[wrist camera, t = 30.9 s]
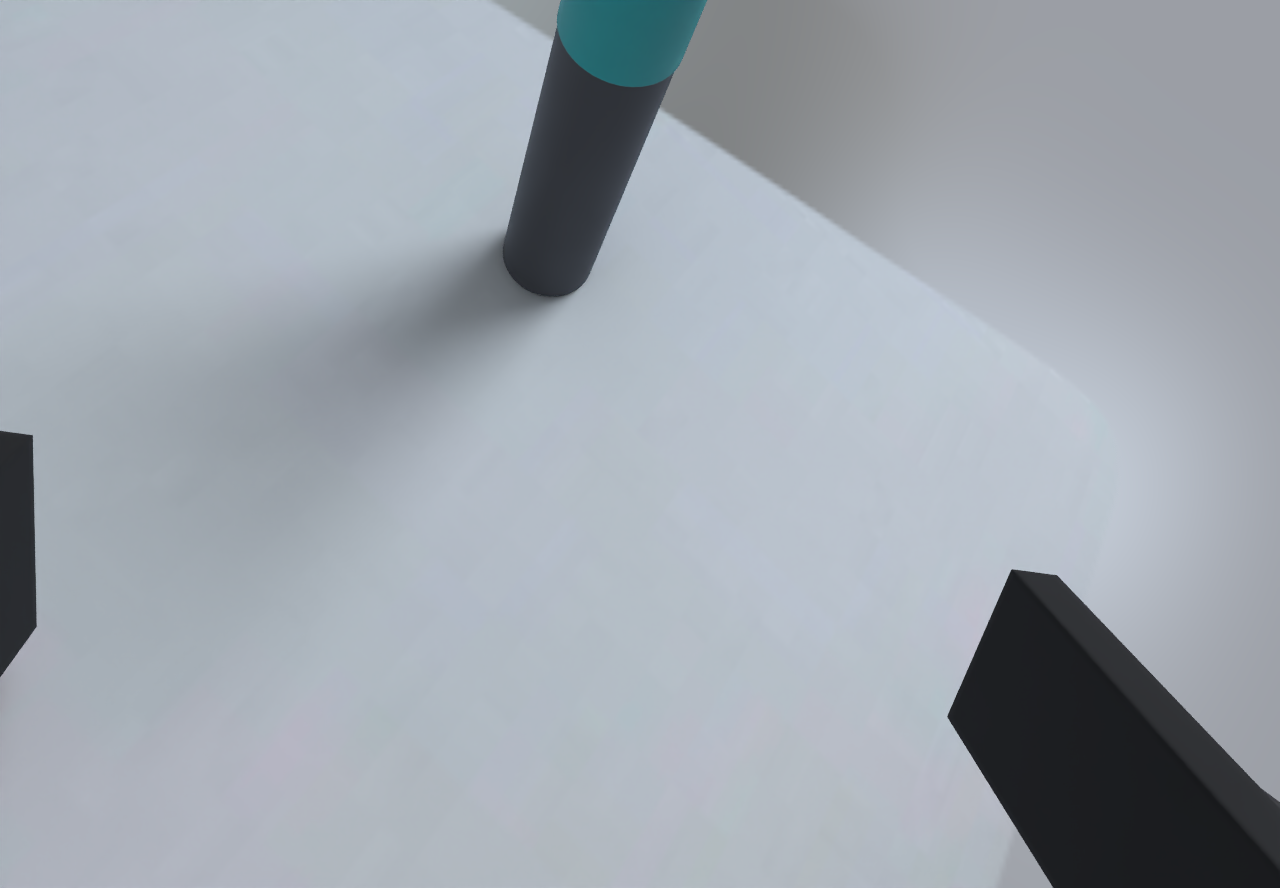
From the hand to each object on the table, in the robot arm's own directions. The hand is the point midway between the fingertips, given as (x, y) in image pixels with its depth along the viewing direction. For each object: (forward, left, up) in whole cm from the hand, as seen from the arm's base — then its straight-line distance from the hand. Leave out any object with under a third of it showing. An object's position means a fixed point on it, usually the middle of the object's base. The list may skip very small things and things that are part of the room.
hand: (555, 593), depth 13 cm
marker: (-1, -12, -11) cm, 17 cm away
